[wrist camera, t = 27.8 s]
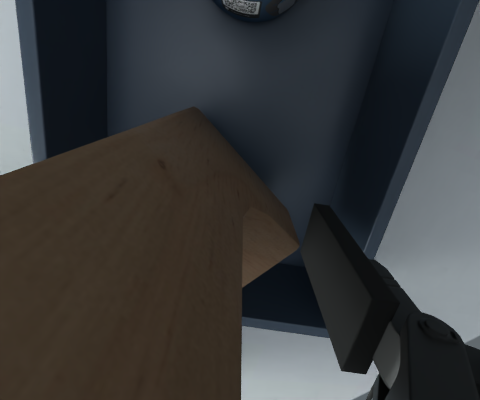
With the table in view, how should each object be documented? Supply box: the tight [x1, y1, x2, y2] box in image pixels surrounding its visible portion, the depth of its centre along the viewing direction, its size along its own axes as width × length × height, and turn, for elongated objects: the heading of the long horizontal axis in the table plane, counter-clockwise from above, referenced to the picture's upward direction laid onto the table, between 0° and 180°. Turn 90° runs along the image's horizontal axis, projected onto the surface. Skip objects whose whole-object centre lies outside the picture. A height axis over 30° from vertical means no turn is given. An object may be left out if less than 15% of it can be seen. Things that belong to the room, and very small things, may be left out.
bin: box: [15, 0, 479, 338], centre depth 17 cm, size 28×20×8 cm
